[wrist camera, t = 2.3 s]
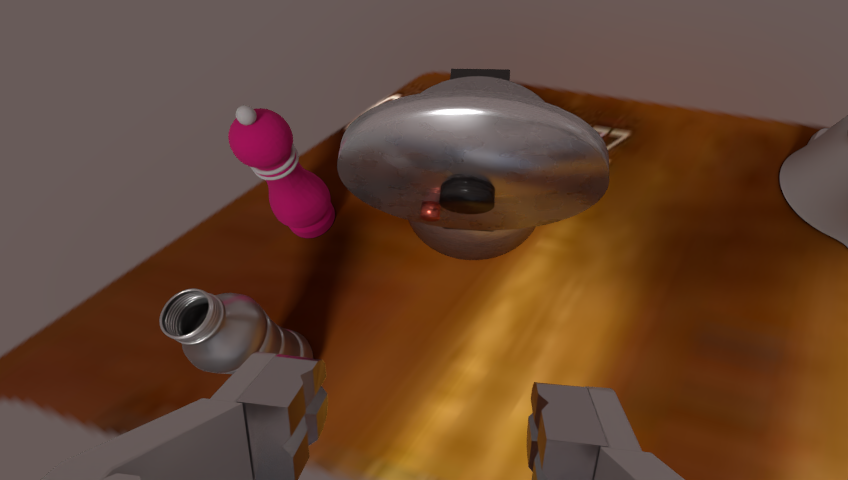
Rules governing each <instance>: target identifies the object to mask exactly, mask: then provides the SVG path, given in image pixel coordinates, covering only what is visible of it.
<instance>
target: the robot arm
mask: <svg viewBox="0 0 848 480" xmlns="http://www.w3.org/2000/svg"><path fill="white" fill-rule="evenodd" d="M780 186H781V189H782V192H783V194H784V196H785V198H786V200H787V202H788V203H789V204H790V206H791V207H792V208H793V210H794V211H795V212H796V213H797V214H798V215H799V216H800V217H801V218H802V219H804V220H805V221H806V222H807V223H809V224H810V225H811V226H813V227H814V228H816V229H818V230H819V231H821V232H823V233H825V234H827V235H829V236H831V237H833V238H835V239H837V240H838V241H840V242H842V243H843V244H844V245H846V246H847V247H848V116H846V117H845V118H843V119H842V120H841V121H839V122H838V123H836V124H835V125H834V126H832V127H831V128H823V129H821V130H819V131H818V132H817V133H815V134H814V135H813V136H812V137H811V139H810V140H809V142H808V144H807V145H806V146H805V147H803V148H801V149H800V150H798V151H796V152H794V153H793V154H791V155H790V156H789V157H788V158H787V159H786V160H785V162H784V163H783V165H782V167H781V170H780ZM325 378H326V369H325V363H324V362H323V360H322V359H314V358H306V357H298V356H290V355H283V354H279V355H278V354H274V353H265V352H256V353H253V354H251V355H250V356H249V358H248V359H247V360H246V361H245V362H244V363H243V364H242V365H241V366H240V367H239V368H238V369H237V370H236V371H235V373H234V374H233V375H232V376H231V377H230V378H229V379H228V380H227V381H226V382H225V383H224V384H223V385H222V386H221V388H220V389H219V390H218V391H217V392H216V393H215V394H214V395H213V396H212V397H211V398H210V399H203V398H202V399H200V400H198V401H196V402H193V403H191V404H189V405H187V406H185V407H182V408H180V409H178V410H176V411H173V412H171V413H169V414H167V415H165V416H162V417H160V418H158V419H156V420H153V421H151V422H149V423H147V424H145V425H142V426H140V427H138V428H136V429H133V430H131V431H129V432H127V433H125V434H122V435H120V436H118V437H116V438H113V439H111V440H109V441H107V442H105V443H102V444H100V445H98V446H96V447H94V448H91V449H89V450H87V451H85V452H82V453H80V454H78V455H76V456H73V457H71V458H69V459H67V460H65V461H63V462H61V463H60V464H58V465H57V466H56V467H55V468H54V469H53V470H51V471H50V472H49V473H48V474H46V476H44V477H43V478H42V479H41V480H298V479H299V477H300V475H301V473H302V471H303V469H304V467H305V465H306V463H307V461H308V459H309V445H311V444H312V443H314V442H315V441H317V440H318V438H319V436H320V434H321V432H322V430H323V427H324V423H325V420H326V416H327V407H328V397H327V393H326V391H325V390H324V389H323V388H322V386H321V385H322V383H323V381H324V380H325ZM531 403H532V410H533V413H532V414H531V415H530V416H529V418H528V428H527V458H528V467H529V468H530V469H531V470H532V472H533V474H532V480H685V479H683V478H682V477H681V476H679V475H678V474H677V473H676V472H674V471H673V470H672V469H671V468H669V467H668V466H667V465H666V464H664V463H663V462H662V461H661V460H659V459H658V458H657V457H656V456H654V455H653V454H652V453H648V452H642V450H641V447H640V445H639V443H638V441H637V439H636V436H635V434H634V432H633V430H632V428H631V426H630V423H629V421H628V419H627V417H626V415H625V413H624V410H623V408H622V406H621V404H620V402H619V400H618V397H617V395H616V393H615V391H614V390H612V389H611V388H600V387H587V386H585V387H578V386H568V385H557V384H547V383H537V382H534V384H533V388H532V394H531Z"/></svg>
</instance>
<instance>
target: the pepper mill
mask: <svg viewBox="0 0 848 480" xmlns="http://www.w3.org/2000/svg"><path fill="white" fill-rule="evenodd" d="M228 137H229V143H230V147H231V149H232V151H233V153H234V154H235V156H236V157H237V158H238V159H239V160H240V161H241V162H243V163H244V164H246V165H248V166H250V167H251V169H252V170H253V171H254V173H255V174H256V175H257V176H258V177H260V178H262V179H264V180H266V181H267V184H268V187H269V201H270V205H271V209H272V211H273V212H274V214H275V216H276V217H277V219H278V220H279V221H280V222H282V223H283V224H285V225H287V226H289V228H290V229H291V230H292V231H293V232H294V233H295V234H296V235H298V236H300V237H303V238H314V237H317V236H320V235H322V234H323V233H325V232H326V231H327V230H328V229H329V228H330V227H331V225H332V224H333V222H334V219H335V210H334V207H333V205H332V203H331V202H330V201H331V197H330V192H329V189H328V188H327V186H326V185H325V183H324V182H323V181H322V180H321V179H320V178H319V177H318V176H317V175H315V174H314V173H312V172H310V171H307V170H305V169H304V168H302V166H301V165H300V164H299V162H298V159H299V156H298V152H297V150H296V148H295V146H294V144H293V135H292V132H291V129H290V127H289V125H288V124H287V122H286V121H285V120H284V119H283V118H282V117H281V116H280V115H279V114H277V113H275V112H273V111H271V110H268V109H261V108H260V109H253V108H251V107H250V106H246V105H243V106H241V107H239V108H238V109H237V111H236V119H235V120H234V122H233V123H232V125H231V127H230V131H229V136H228Z"/></svg>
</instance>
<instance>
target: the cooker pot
mask: <svg viewBox="0 0 848 480" xmlns="http://www.w3.org/2000/svg"><path fill="white" fill-rule="evenodd" d="M509 79H510V70H495V69H451V77H450V80H448V81H445V82H442V83H439V84H437V85H434V86H432V87H430V88H428V89H427V90H425V91H423V92H422V93H427V92H436V91H446V90H478V91H494V92H500V93H507V94H514V95H519V96H523V97H528V98H532V99H536V100H540V101H542V102H544V101H543V100H542V99H541V98H540V97H539V96H537V95H536V94H535V93H533V92H532V91H530V90H529V89H527V88H525V87H523V86H521V85H519V84H516V83H514V82H511V81H509ZM420 94H421V93H420ZM408 221H409V223H410V225H411V227H412V229H413V230H414V232H415V233H416V234H417V236H418V237H419V238H420V239H421V240H422V241H423V242H424V243H425V244H427V245H428V246H429V247H431V248H432V249H434V250H436V251H438V252H440V253H442V254H444V255H447V256H450V257H454V258H458V259H464V260H483V259H489V258H494V257H497V256H500V255H503V254H505V253H507V252H509V251H511V250H513V249H515V248H516V247H518V246H519V245H520V244H522V243H523V242H524V241H525V240H526V239H527V238H528V237H529V236H530V234H531V233H532V232H533V230H534V229H535V227H536V226H535V227H529V228H521V229H510V230H465V229H454V228H446V227H439V226H433V225H427V224H423V223H418V222H414V221H410V220H408Z"/></svg>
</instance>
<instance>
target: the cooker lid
mask: <svg viewBox="0 0 848 480" xmlns="http://www.w3.org/2000/svg"><path fill="white" fill-rule="evenodd" d="M337 170H338V174H339V177H340V179H341V181H342V182H343V184H344V185H345V186H346V187H347V189H348V190H349V191H350V192H352V193H353V194H354V195H355V196H356V197H358V198H359V199H361V200H362V201H363V202H365V203H367V204H369V205H371V206H372V207H374V208H377V209H379V210H381V211H383V212H386V213H388V214H391V215H394V216H397V217H400V218H403V219H406V220H410V221H414V222H418V223H423V224H427V225H433V226H439V227H446V228H454V229H465V230H510V229H521V228H529V227H535V226H540V225H546V224H550V223H554V222H558V221H561V220H564V219H567V218H570V217H572V216H574V215H577V214H579V213H581V212H583V211H585V210H586V209H588V208H590V207H591V206H592V205H594V204H595V203H597V202H598V201H599V200H600V198H601V197H602V196H603V195H604V193H605V192H606V190H607V188H608V184H609V157H608V150H607V147H606V144H605V142H604V141H603V139H602V138H601V136H600V135H599V134H598V132H597V131H596V130H594V129H593V128H592V127H591V126H590V125H589V124H588V123H586V122H585V121H583V120H582V119H580V118H579V117H577V116H576V115H574V114H572V113H570V112H568V111H566V110H564V109H561V108H559V107H557V106H554V105H551V104H548V103H545V102H542V101H540V100H536V99H532V98H528V97H523V96H519V95H514V94H507V93H500V92H494V91H478V90H446V91H436V92H427V93H421V94H416V95H411V96H406V97H402V98H398V99H395V100H392V101H389V102H386V103H383V104H381V105H379V106H377V107H374V108H372V109H370V110H369V111H367V112H365V113H364V114H362V115H361V116H359V117H358V118H357V119H356V120H355V121H353V122H352V123H351V124H350V125H349V127H348V128H347V130H346V131H345V132H344V135H343V137H342V140H341V145H340V150H339V156H338V164H337Z"/></svg>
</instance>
